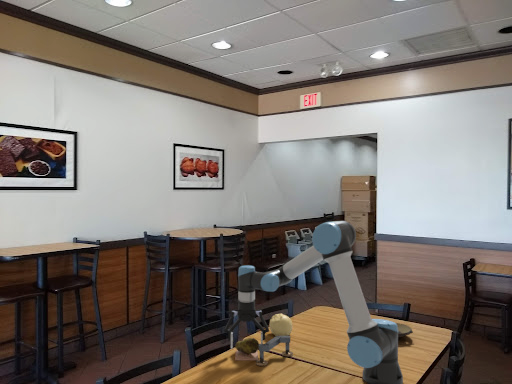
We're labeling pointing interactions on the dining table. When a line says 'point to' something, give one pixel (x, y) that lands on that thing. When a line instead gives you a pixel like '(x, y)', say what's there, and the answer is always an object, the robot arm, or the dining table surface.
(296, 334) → the dining table surface
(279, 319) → the cream lumpy ball
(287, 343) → the rail
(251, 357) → the plate
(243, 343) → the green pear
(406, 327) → the oil lamp
